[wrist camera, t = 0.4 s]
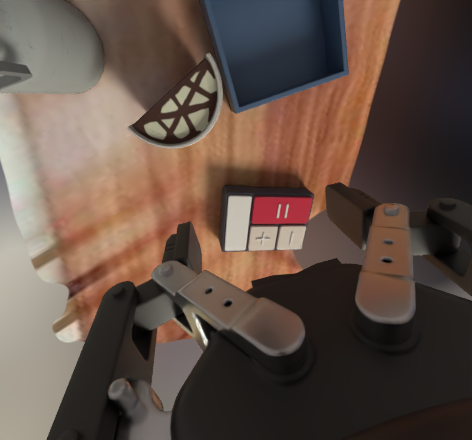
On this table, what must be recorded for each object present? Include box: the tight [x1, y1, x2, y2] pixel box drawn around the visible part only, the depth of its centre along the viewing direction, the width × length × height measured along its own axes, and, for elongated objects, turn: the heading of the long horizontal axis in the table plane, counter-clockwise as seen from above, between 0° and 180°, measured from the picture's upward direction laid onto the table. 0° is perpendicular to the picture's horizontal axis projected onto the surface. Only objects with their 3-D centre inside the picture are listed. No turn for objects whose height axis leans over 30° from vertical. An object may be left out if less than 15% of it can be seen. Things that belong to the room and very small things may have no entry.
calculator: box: [219, 185, 314, 252], centre depth 44 cm, size 11×4×15 cm
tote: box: [199, 0, 349, 114], centre depth 31 cm, size 14×15×5 cm
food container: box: [127, 53, 223, 149], centre depth 32 cm, size 12×6×10 cm, turn 127°
